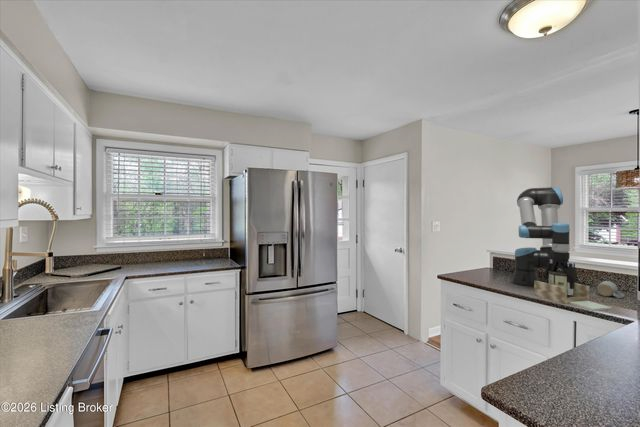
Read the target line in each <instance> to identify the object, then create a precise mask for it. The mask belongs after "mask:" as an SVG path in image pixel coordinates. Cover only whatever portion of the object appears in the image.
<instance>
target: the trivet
mask: <svg viewBox="0 0 640 427" xmlns="http://www.w3.org/2000/svg"><path fill="white" fill-rule="evenodd" d="M569 304H571V305H574V306H577V307H580V308H584V309H587V310H590V311H602V310H604V311H605V310H613V307H612V306H607V305H605V304H601V303H597V302H593V301H590V300H589V301H577V302H570V303H569Z"/></svg>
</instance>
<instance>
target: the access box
mask: <svg viewBox="0 0 640 427" xmlns="http://www.w3.org/2000/svg"><path fill="white" fill-rule="evenodd" d="M533 287H534V288H533V289H534V290H533V293H534V295H535V296H537V297H541V298H544V299H547V300H551V301H554V302H557V303H560V304H565V305H566V304H570V302H577V301H590V286H589V285H584V284H580V283H577V282H575V283H574V289H573V297H572V298H565V288H563V287H559V286H555V285H551V284H549V283H548V282H543V281H540V280H539V281H534V286H533Z"/></svg>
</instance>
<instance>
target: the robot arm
mask: <svg viewBox="0 0 640 427" xmlns="http://www.w3.org/2000/svg"><path fill="white" fill-rule="evenodd" d="M563 204H564V195H563V191H562V190H561V189H560V187H551V186H550V187H531V188H528V189H526V190H525V189H524V191H522V192H521V193H520V194H519V195H518V196H517V199H516V205H517V206H518V208H519V214H520V224H521V225H519V226H518V237H519V238H522V239H541V241H542V245H541V246H540V247H539V249H538V250H537V248H536V247H519V248H515V250H514V273H513V275H512V278H511V282H512V284H516V285H519V286H525V287H526V286H528V287H534V281H540V280H539V276H538V273H537V269H542V270H543V269H545V270H544V276H545V277H547V284H549V271H552V272H553V271H564V273H565V274H571V275H568V276H567V279H568V281H569V282H567V285H568V295H573V289H574V283H579V282H580V281H579V277H578V274H577V270H576V263H575V262H570V261H569V260H570V257H571V256H570V251H571V250H570V247H571V246H570V230H571V229H570V224H569V223H567V222H566V223H565V222H559V215H558V210H559V209H560V208H561V205H563ZM534 206H537V207H538V209H539V210H540V213H541V214H540V216H541V218H540V219H541V225H537V219H536V214H535V208H534Z"/></svg>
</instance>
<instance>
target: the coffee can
mask: <svg viewBox="0 0 640 427" xmlns="http://www.w3.org/2000/svg"><path fill="white" fill-rule="evenodd" d="M568 275H571V274H565V273H564V271H563V270H557V271H553V272H552V271H549V283H548V284H551V285H555V286H559V287H563V288H565V298H572V297H573V295H568V285H567V282H569V281H568V279H567V276H568Z"/></svg>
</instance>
